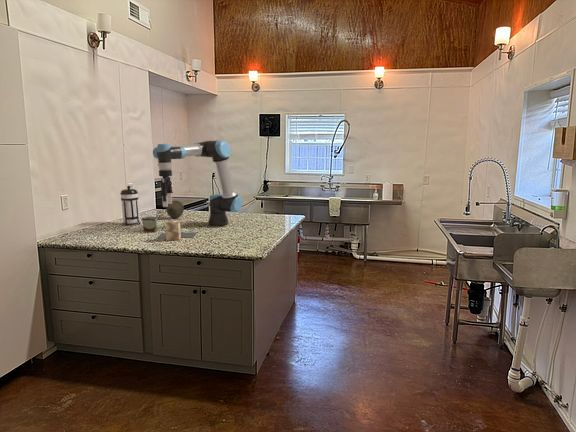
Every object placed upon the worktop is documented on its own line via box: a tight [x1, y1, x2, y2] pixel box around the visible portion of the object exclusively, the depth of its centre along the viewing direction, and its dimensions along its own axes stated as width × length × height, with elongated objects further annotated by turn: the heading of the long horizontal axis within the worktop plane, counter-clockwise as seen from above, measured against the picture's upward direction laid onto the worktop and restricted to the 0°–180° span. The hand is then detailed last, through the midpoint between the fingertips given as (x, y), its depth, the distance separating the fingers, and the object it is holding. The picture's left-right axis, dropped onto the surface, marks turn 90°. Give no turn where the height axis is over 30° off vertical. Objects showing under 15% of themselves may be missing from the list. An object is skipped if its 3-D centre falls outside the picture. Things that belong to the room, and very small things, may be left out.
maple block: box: [164, 220, 182, 242], centre depth 261 cm, size 8×6×12 cm
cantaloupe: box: [165, 200, 185, 219], centre depth 334 cm, size 14×14×15 cm
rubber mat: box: [156, 231, 198, 240], centre depth 273 cm, size 24×14×1 cm, turn 94°
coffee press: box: [119, 185, 141, 227], centre depth 311 cm, size 17×16×30 cm
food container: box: [140, 216, 158, 234], centre depth 288 cm, size 12×6×10 cm, turn 71°
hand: (167, 205), depth 248 cm, fingers open, 11 cm apart
